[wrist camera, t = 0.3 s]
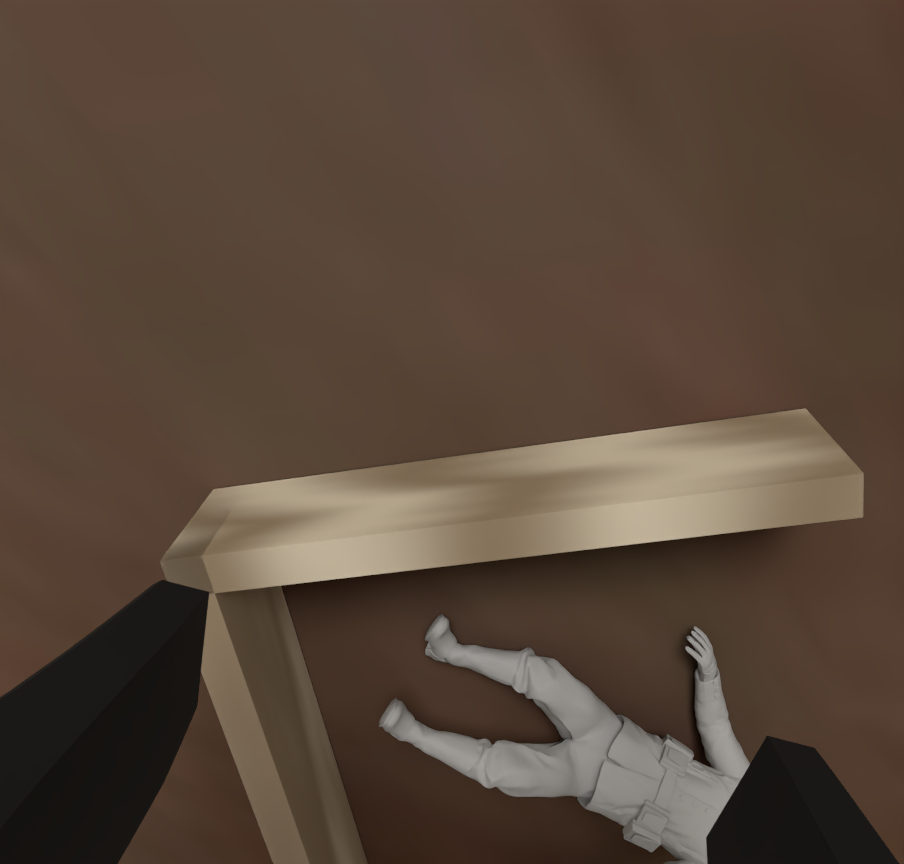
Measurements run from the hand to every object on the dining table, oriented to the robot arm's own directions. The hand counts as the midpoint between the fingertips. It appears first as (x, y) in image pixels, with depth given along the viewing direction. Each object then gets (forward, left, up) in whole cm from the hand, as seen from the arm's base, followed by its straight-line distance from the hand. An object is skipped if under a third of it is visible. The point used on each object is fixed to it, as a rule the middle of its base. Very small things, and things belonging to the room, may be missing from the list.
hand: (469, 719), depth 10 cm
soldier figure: (+2, -10, -11) cm, 15 cm away
